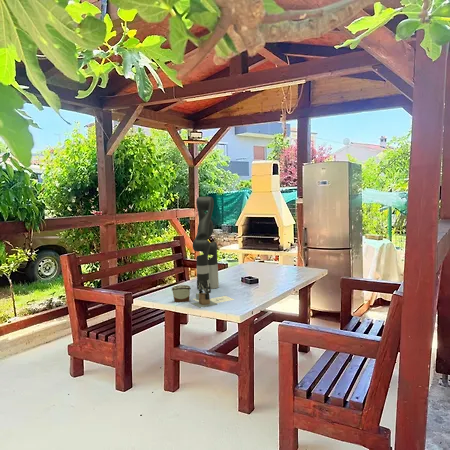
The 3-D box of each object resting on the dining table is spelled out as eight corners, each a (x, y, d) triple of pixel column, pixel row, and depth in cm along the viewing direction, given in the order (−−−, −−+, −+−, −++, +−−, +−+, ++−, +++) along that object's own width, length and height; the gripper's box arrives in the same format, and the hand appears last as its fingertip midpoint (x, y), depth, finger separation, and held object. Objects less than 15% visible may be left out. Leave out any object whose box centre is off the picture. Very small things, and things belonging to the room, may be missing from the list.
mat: (191, 304, 240) (191, 303, 240) (208, 300, 246) (208, 299, 246) (200, 308, 230) (199, 307, 230) (217, 304, 236) (217, 304, 236)
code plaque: (203, 300, 248) (203, 299, 248) (225, 296, 255) (225, 295, 255) (212, 304, 237) (212, 303, 237) (234, 300, 245) (234, 299, 245)
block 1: (196, 299, 250) (195, 293, 250) (201, 298, 253) (200, 292, 252) (199, 300, 247) (199, 294, 247) (204, 299, 249) (204, 293, 249)
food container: (192, 299, 251) (191, 284, 250) (191, 302, 245) (190, 286, 244) (173, 300, 251) (172, 285, 250) (172, 303, 245) (171, 287, 244)
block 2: (199, 303, 239) (198, 293, 238) (206, 302, 241) (205, 292, 241) (202, 305, 234) (202, 295, 234) (209, 303, 237) (209, 294, 237)
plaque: (192, 299, 251) (192, 299, 251) (203, 297, 255) (203, 296, 255) (197, 302, 244) (197, 301, 244) (208, 299, 248) (208, 299, 248)
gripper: (213, 273, 232) (214, 299, 233) (203, 269, 245) (204, 294, 246) (202, 274, 228) (203, 301, 230) (192, 271, 241) (193, 296, 242)
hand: (204, 298), depth 238 cm, fingers open, 8 cm apart
